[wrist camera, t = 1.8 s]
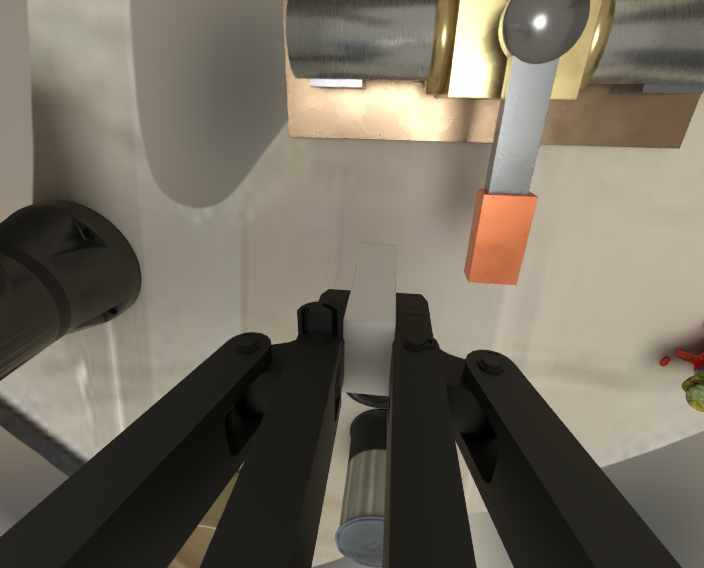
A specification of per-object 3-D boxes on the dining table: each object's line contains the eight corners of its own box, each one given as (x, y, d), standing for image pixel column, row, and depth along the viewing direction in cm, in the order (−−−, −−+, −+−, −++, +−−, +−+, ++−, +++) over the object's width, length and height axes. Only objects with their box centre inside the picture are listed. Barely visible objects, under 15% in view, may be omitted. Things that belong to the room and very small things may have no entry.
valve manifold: (293, 135, 35) (249, 148, 25) (284, -54, 29) (220, -146, 18) (667, 146, 33) (802, 167, 22) (746, -60, 26) (987, -173, 16)
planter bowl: (306, 496, 60) (289, 572, 50) (247, 530, 66) (221, 603, 56) (230, 440, 56) (195, 511, 46) (174, 482, 62) (133, 552, 52)
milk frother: (382, 464, 55) (378, 579, 41) (300, 405, 51) (268, 511, 38) (456, 417, 49) (479, 532, 36) (369, 347, 46) (360, 447, 32)
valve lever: (506, -23, 19) (516, -34, 18) (585, -23, 19) (603, -35, 17) (458, 271, 27) (462, 281, 25) (514, 274, 27) (522, 285, 25)
